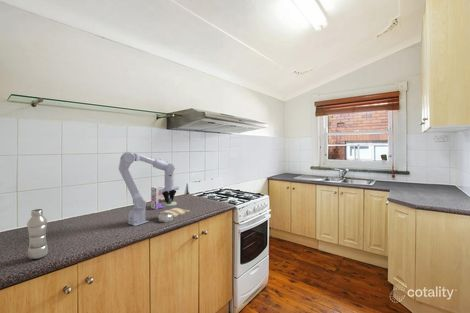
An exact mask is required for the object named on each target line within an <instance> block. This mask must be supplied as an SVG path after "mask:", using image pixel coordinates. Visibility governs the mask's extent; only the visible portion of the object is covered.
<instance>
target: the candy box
mask: <svg viewBox="0 0 470 313" xmlns="http://www.w3.org/2000/svg"><path fill="white" fill-rule="evenodd" d="M163 188H165V184H164V185H157V186H151V187H150V191H151V192H150V209H152V210H156V211H157V210H159V209H164V208H166V207H164V206H162V203H164V202H165V198H164V196H163V194H162V193H159V190H160V189H163ZM168 193H169V191H168ZM169 198H170V196H169Z"/></svg>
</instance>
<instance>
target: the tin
mask: <svg viewBox="0 0 470 313" xmlns="http://www.w3.org/2000/svg"><path fill="white" fill-rule="evenodd" d="M157 217H158V222H159V223H161V224H167V223H172V222H173V221H174V217H173V213H169V212H166V213H161V214H159V213H158V216H157Z"/></svg>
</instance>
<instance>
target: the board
mask: <svg viewBox="0 0 470 313" xmlns="http://www.w3.org/2000/svg"><path fill="white" fill-rule="evenodd" d="M166 212H169V213H173V218H175V217H179V216H181V215H184V214H188V213H190V212H191V211H190V210H188V209H184V208H180V207H174V208H173V207H172V208H171V209H170V208H169V209H166V210H163V211H160V212H158V215H159V214H161V213H166Z"/></svg>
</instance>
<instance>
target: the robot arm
mask: <svg viewBox="0 0 470 313" xmlns="http://www.w3.org/2000/svg"><path fill="white" fill-rule="evenodd" d="M119 159H120V160H119V165H118V171H119V173H120V175H121V177H122V179H123V181H124V183H125V185H126V187H127V190H128V191H129V193H130V195H131V197H132V204H133V207H132V209H131V210H129V211H128V214H127V216H128V220H127V221H128V222H127V224H129V225H132V226H134V227H136V226H139V225H143V224H145V223H149V220H147V215H146V214H147V213H146V210H147V208H146V206H147V201H146V200H145V199H144V198H143V196H142V195H141V193H140V191H139V189H138V187H137V185H136V183H135V181H134V179H133V176H132V174H131V172H130V170H129V169H130V166H131V165H132V164H133V163H134V162H139V161H140V162H144V163H148V164H150V165H152V167H153V168H154V169H158V170H161V171H164V175H163V176H164V177H163V178H164V185H165V188H163V189H160V190H159V193H162V194H163V196H164V198H165V202H166V203H168V202H169V196H170V198H172V202H174V198H175V194H176V193H177V191H179V190H180V189H179V188H180V187H179V186H174V180H175V179H174V178H175V177H174V171H175V170H176V167H175V165H174V163H173V164H172V163H170V162H168V161H164V160H162V159H161V158H155V159H153V158H150V157H148V156H145V155H142V154H140V153H139V154H138V153H135V152H134V153H133V152H130V151H126V152H123V153H122V155H121V156H120V158H119ZM168 191H169V193H168Z"/></svg>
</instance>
